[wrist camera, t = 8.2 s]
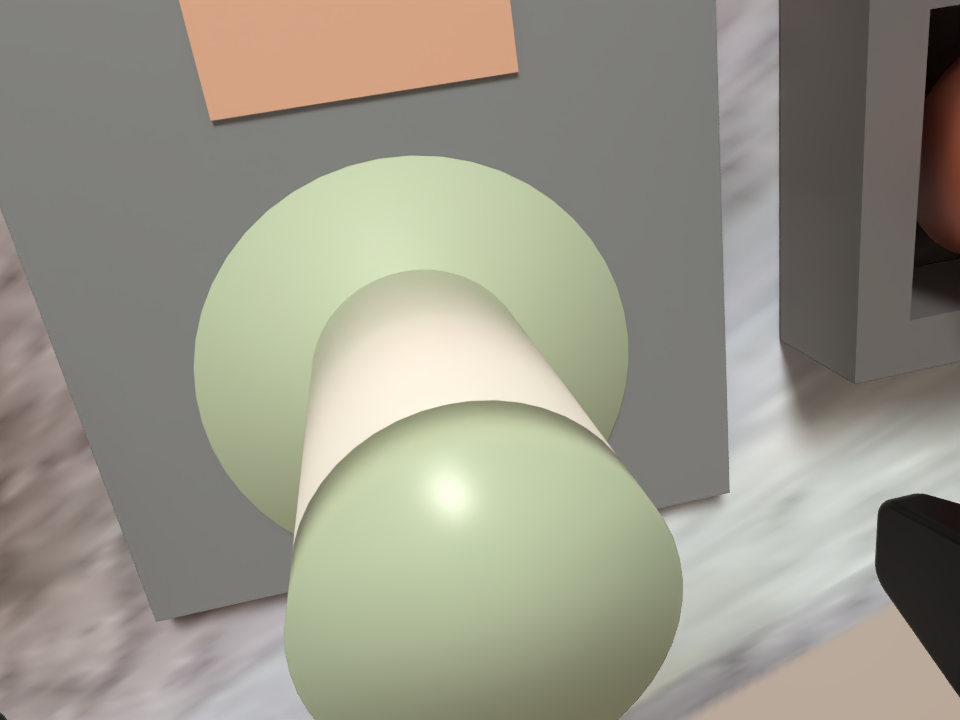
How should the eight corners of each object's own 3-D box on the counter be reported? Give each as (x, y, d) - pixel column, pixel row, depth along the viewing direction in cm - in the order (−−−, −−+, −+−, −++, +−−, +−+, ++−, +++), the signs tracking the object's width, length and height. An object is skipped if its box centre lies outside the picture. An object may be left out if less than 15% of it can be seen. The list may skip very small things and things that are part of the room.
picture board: (686, -391, 11) (706, -420, 11) (716, 479, 17) (731, 494, 16) (-173, -309, 10) (-208, -335, 9) (162, 602, 16) (155, 625, 15)
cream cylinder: (513, 250, 14) (671, 402, 7) (539, 448, 15) (692, 726, 8) (287, 292, 13) (236, 495, 7) (338, 492, 15) (334, 819, 8)
